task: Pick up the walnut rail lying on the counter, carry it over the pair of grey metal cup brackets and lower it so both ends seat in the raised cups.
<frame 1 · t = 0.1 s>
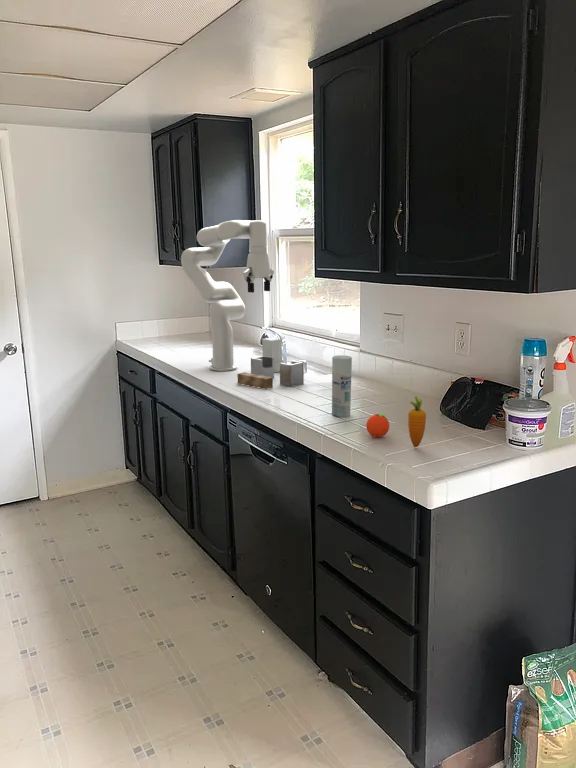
hand: (259, 291, 275), 37 cm above the worktop, tool pointing down, fingers open, 9 cm apart
clementine: (379, 437, 196), on the worktop
skincare box: (272, 371, 295), on the worktop
walnut rail: (254, 386, 265), on the worktop
carrot: (415, 448, 185), on the worktop
spray paint can: (341, 415, 220), on the worktop
brackets: (276, 381, 273), on the worktop
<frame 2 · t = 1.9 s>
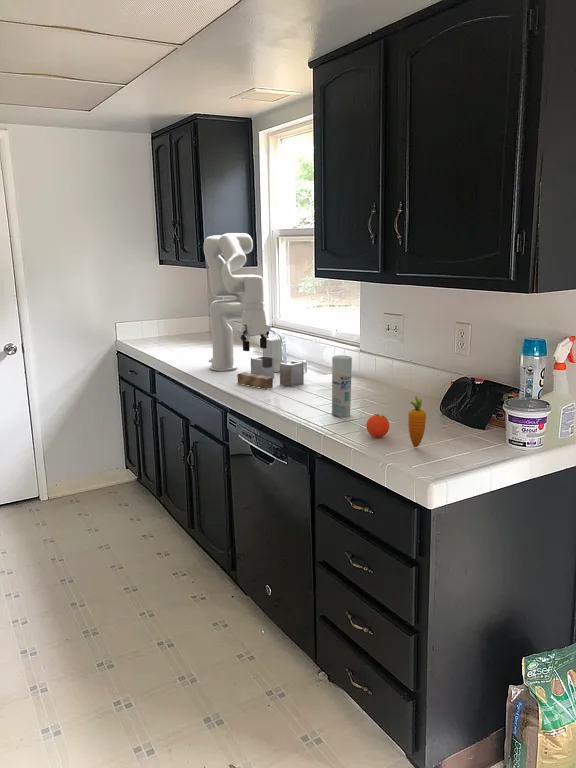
hand: (254, 349, 261), 15 cm above the worktop, tool pointing down, fingers open, 9 cm apart
nothing on the worktop moved.
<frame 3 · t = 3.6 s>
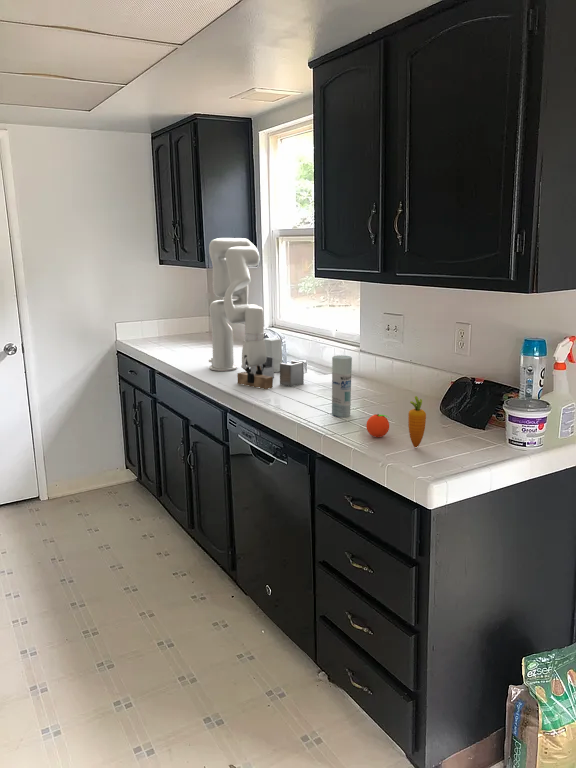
hand: (254, 381, 264), 2 cm above the worktop, tool pointing down, fingers closed on walnut rail, 4 cm apart
walnut rail: (254, 385, 265), on the worktop, touching gripper
everything else where it was.
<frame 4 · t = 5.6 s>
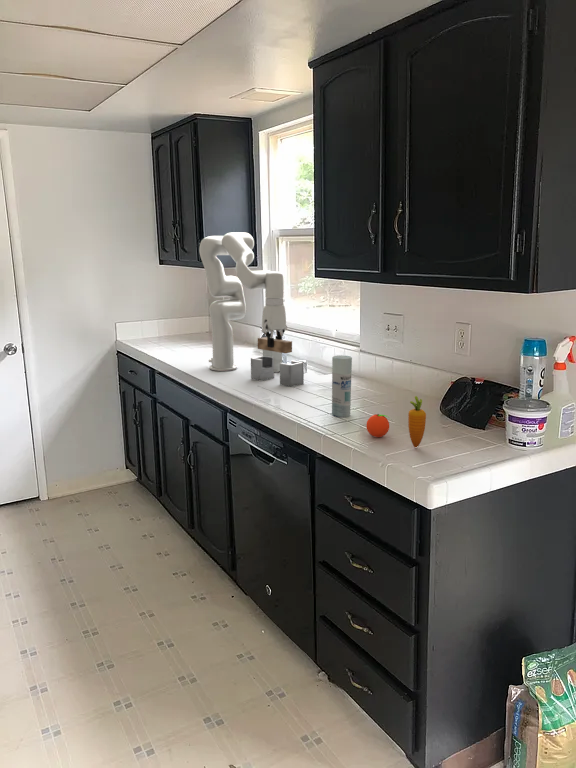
hand: (274, 346, 269), 15 cm above the worktop, tool pointing down, fingers closed on walnut rail, 4 cm apart
walnut rail: (274, 350, 269), point 13 cm above the worktop, touching gripper
everything else where it was.
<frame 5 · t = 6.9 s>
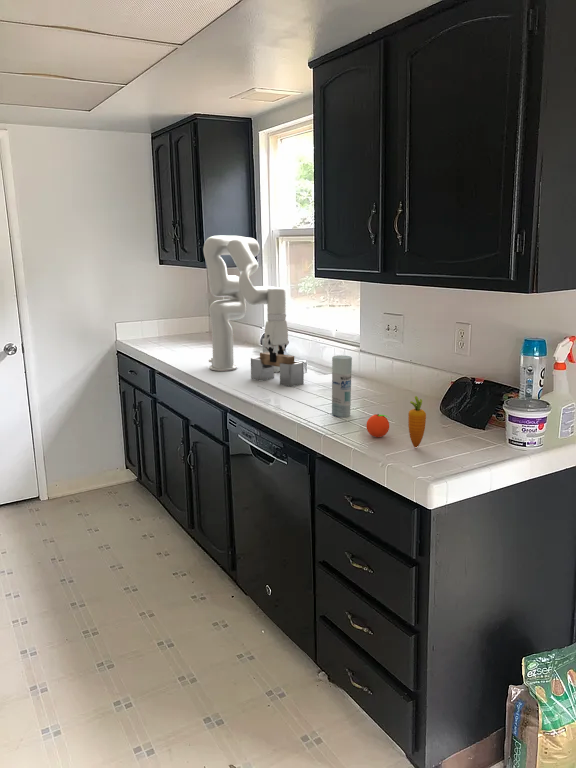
hand: (276, 360, 271), 9 cm above the worktop, tool pointing down, fingers closed on walnut rail, 4 cm apart
walnut rail: (276, 365, 271), point 7 cm above the worktop, touching gripper
everything else where it was.
when the fingers open (8 cm above the worktop, at t = 7.7 s): walnut rail drops 1 cm, resting on brackets.
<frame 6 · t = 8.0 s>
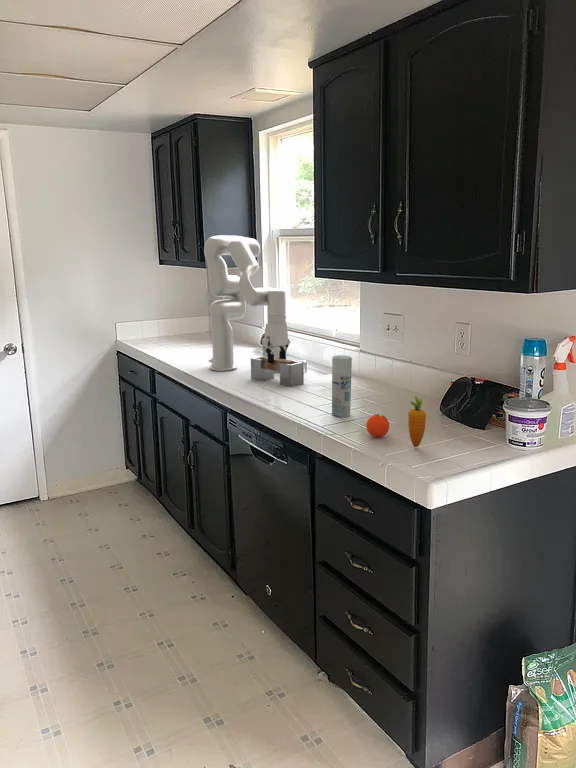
hand: (276, 361, 271), 8 cm above the worktop, tool pointing down, fingers open, 6 cm apart
walnut rail: (276, 369, 272), point 5 cm above the worktop, touching brackets
everything else where it was.
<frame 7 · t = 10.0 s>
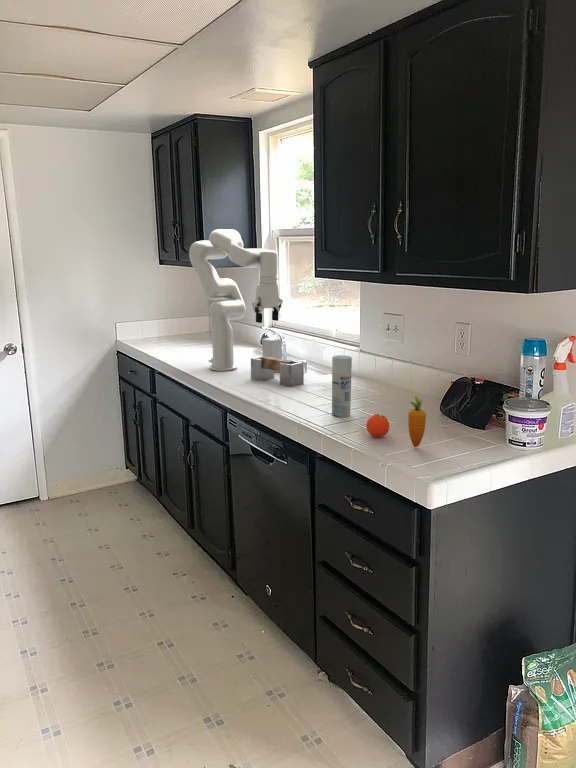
hand: (267, 321, 273), 25 cm above the worktop, tool pointing down, fingers open, 9 cm apart
nothing on the worktop moved.
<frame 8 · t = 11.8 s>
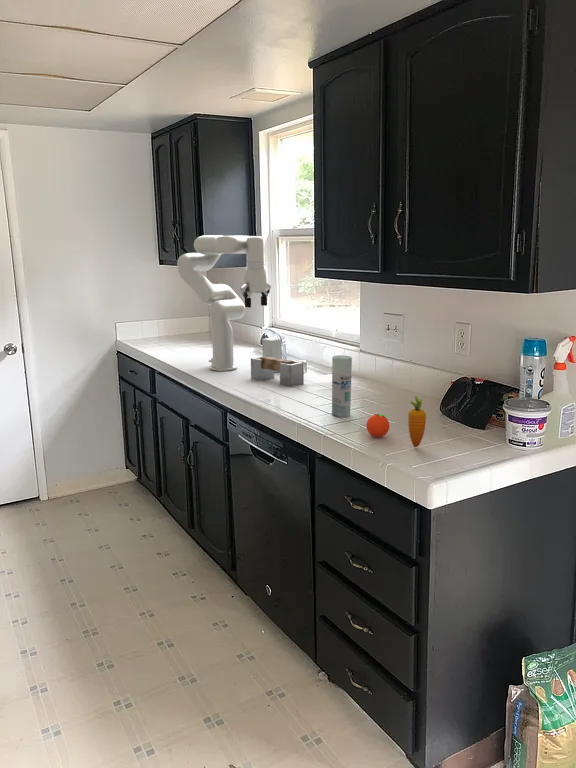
hand: (256, 306, 278), 30 cm above the worktop, tool pointing down, fingers open, 9 cm apart
nothing on the worktop moved.
at the end: walnut rail 0.2 cm off-centre on the brackets, point 5.0 cm above the brackets's base; walnut rail tilted 0°; the gripper is holding nothing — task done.
